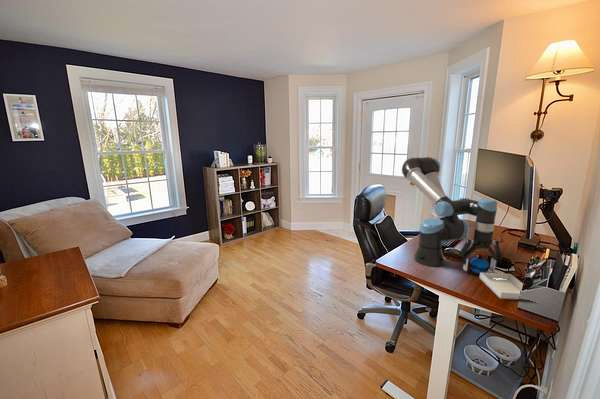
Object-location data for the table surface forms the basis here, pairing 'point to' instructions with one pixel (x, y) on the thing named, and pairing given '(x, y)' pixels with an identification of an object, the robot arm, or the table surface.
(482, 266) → the ornament
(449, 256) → the table surface
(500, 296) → the bin
